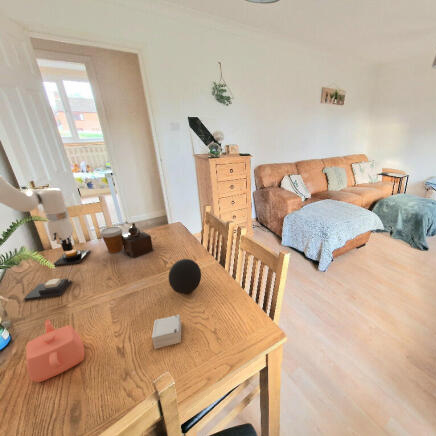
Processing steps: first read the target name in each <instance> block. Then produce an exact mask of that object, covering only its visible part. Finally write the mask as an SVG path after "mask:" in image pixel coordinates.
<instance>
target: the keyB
mask: <svg viewBox="0 0 436 436" xmlns="http://www.w3.org/2000/svg"><path fill="white" fill-rule="evenodd" d="M64 253H65V254H66V256H73V255H75V254H77V252H76V249H72V250H71V251H65V252H64Z"/></svg>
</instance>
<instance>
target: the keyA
mask: <svg viewBox="0 0 436 436" xmlns="http://www.w3.org/2000/svg"><path fill="white" fill-rule="evenodd" d="M61 279H62V278H53V279H48V281H46V282H45V283H46V284H45V285H44V286H45V288H52V287H57V286H58V285H59V284H60V283H61Z"/></svg>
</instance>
